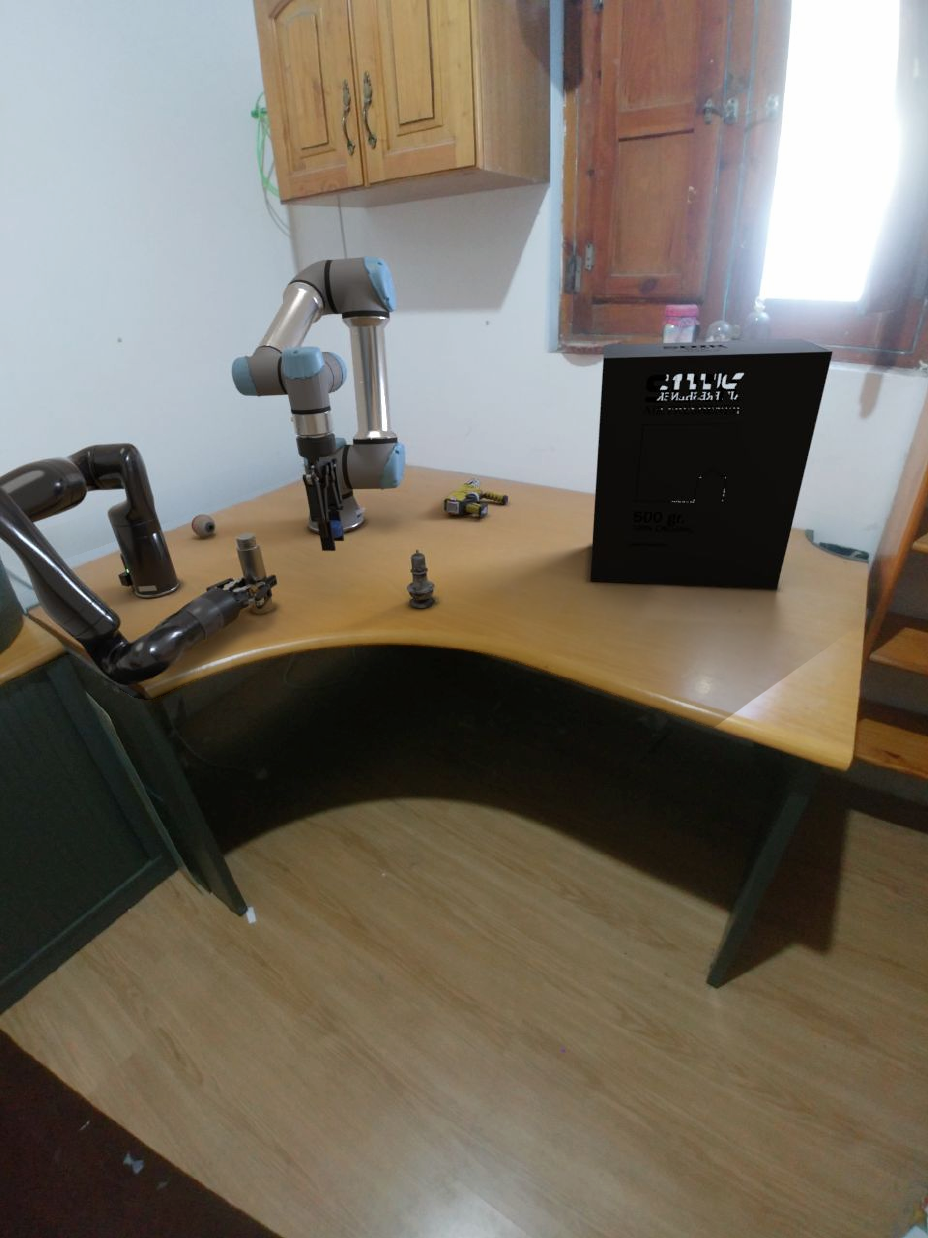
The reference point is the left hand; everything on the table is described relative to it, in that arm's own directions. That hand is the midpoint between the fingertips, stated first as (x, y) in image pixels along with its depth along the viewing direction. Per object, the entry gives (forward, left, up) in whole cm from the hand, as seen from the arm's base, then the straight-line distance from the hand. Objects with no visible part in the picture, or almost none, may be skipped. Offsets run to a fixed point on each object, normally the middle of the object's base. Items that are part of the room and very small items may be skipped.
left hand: (265, 577), depth 127 cm
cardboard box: (+79, +43, -6) cm, 91 cm away
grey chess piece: (+32, +10, -6) cm, 34 cm away
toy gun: (+22, +70, -6) cm, 73 cm away
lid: (+11, +10, +9) cm, 18 cm away
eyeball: (-43, +27, -6) cm, 51 cm away
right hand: (+11, +10, +5) cm, 16 cm away
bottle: (0, -3, -6) cm, 7 cm away
